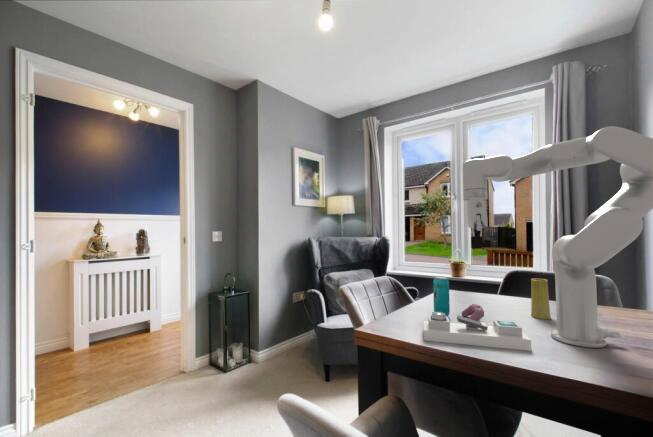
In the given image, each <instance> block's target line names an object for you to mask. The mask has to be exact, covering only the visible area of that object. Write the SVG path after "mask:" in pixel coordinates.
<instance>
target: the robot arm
mask: <svg viewBox="0 0 653 437" xmlns="http://www.w3.org/2000/svg"><path fill="white" fill-rule="evenodd" d="M609 160H613V161H615V162H617V163H619V164H620V167H619V174H620V177H621V181H622V183H621V187H620V189H619V190H618V191H617V193H616V194H615V195H613V196H612V197H611V198H610V199H609V200H608V201H606V202H605V203H603V205H601V206H600V207H599V208H598V209H597V210H595V211H594V212H592V213H591V214H590V215H589V216H587V217H586V219H585V221H584V227H583V228H582V229H581V230H579V231H578V232H577V233H576V234H568V235H563V236H562V237H559V238H558V239H556V241H554V244H553V246H552V249H551V254H552V255H551V256H552V260H553V268H554V269H553V270H554V282H555V308H556V328H557V329H554V330H552V331H551V332H550V336H551V338H553V339H555V340H557V341H559V342H562V343H565V344H568V345H572V346H577V347H582V348H583V347H584V348H591V349H592V348H595V349H600V348H604V347H606V346H607V340H606V339H607V338H610V339H620V338H621V334H620V332H619V331H616V330H615V331H614V330H609V329H608V328H607V329H606V328H601V327H600V326H599V318H598V317H599V314H598V297H597V296H598V295H597V292H598V291H597V278H596V271H595V269H596V268H598V267H600V266H601V265H603V264H605V263H607V262H608V261H609V260H610V259H612V258H614V256H616V255H617V254H619V253H620V252H621V251H622V250H623V249H625V248H626V247H627V246H629V245H630V244H632V242H634V241H635V240H637V238H638V237H639V236H640V235H641V233H642V231H643V229H644V221H643V218H644V217H645V216H646V215H648V213H650V211H652V210H653V138H652V137H649V136H647V135H644V134H642V133H640V132H636V131H633V130H630V129H627V128H626V127H625V128H624V127H620V126H612V125H611V126H604V127H602V128H600V129H599V130H597V131H595V132H594V133H593V134H591V135H588V136H584V137H583V136H582V137H578V138H574V139H569V140H565V141H560V142H554V143H551V144H547V145H545V146H542V147H540V148H538V149H536V150H535V151H532V152H530V153H528V154H525V155H521V156H518V157H514V158H512V157H510V156H508V155H506V154H499V155H498V154H497V155H494V156H489V157H485V158H473V159H472V158H471V159H468V160H465V161H464V162H463V164H462V191H463V192H462V194H463V195H462V196H463V197H462V198H463V201H466V218H467V219H466V222H467V227H468V228H470V244H471V245H470V248H471V249H474V250H475V249H479V250H481V249H483V234H482V233H483V228H484V229H486V228H487V227H488V226H489V225H488V222H489V221H488V213H487V212H488V211H487V210H488V209H487V203H486V200H488V199H489V198H488V197H489V195H488V179H490V181H492V182H496V183H497V182H498V183H499V182H508V181H512V180H513V181H514V180H518V179H524V178H529V177H533V176H538V175H543V174H547V173H550V172H551V173H552V172H556V171H561V170H565V169H566V170H567V169H571V168H576V167H582V166H583V167H584V166H588V165H595V164H599V163H603V162H607V161H609Z"/></svg>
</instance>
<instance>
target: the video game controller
mask: <svg viewBox="0 0 653 437" xmlns="http://www.w3.org/2000/svg"><path fill="white" fill-rule="evenodd" d="M461 317H465V318H467V317H468V319H471V320H475V321H478V322H480V320H481V319H483V318H484V317H485V311H484V309H483V307H482V306H481V305H479V304H477V303H472V304H470V305H469V306H468V307H466V308H465V309H464V310H462V312H461Z"/></svg>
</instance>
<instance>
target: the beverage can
mask: <svg viewBox="0 0 653 437" xmlns="http://www.w3.org/2000/svg"><path fill="white" fill-rule="evenodd" d="M432 283H433V312H442V313H445V316H446V317H448V318H449V317H450V316H449V315H450V312H451V310H450V309H451V307H450V305H451V304H450V281H449V277H447V276H442V275H439V276H438V275H436V276H433V280H432Z"/></svg>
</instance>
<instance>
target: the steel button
mask: <svg viewBox="0 0 653 437" xmlns="http://www.w3.org/2000/svg"><path fill="white" fill-rule="evenodd" d="M431 315H432V320H438V321H445V313H442V312H434V311H433V312H431Z"/></svg>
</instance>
